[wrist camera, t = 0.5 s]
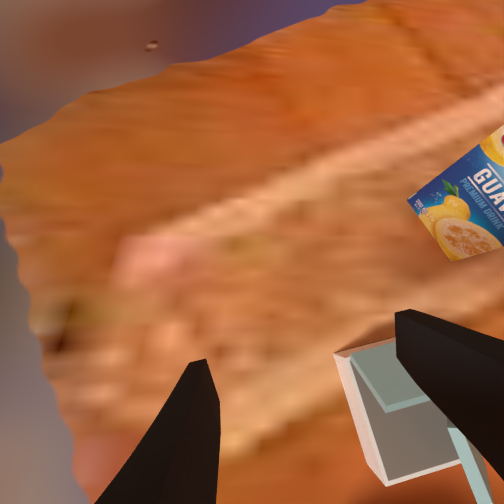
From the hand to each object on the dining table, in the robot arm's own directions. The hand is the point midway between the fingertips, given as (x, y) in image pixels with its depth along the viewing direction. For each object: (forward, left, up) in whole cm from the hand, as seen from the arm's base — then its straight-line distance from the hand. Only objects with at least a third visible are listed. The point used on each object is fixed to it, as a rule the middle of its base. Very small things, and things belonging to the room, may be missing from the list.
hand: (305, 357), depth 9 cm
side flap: (-7, -12, -17) cm, 22 cm away
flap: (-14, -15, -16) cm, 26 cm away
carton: (-11, -12, -23) cm, 28 cm away
